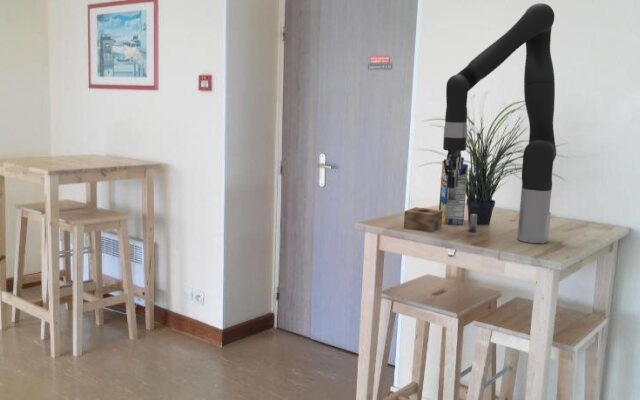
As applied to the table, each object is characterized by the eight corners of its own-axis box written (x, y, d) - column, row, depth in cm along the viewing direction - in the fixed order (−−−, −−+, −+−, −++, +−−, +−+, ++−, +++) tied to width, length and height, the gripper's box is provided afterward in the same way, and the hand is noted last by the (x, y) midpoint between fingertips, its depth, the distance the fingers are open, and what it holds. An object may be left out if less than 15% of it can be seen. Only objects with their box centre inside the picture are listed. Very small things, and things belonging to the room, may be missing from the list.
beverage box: (444, 224, 225) (448, 164, 221) (438, 218, 235) (442, 160, 232) (463, 225, 225) (468, 164, 221) (456, 219, 236) (460, 161, 232)
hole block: (441, 227, 219) (442, 210, 218) (430, 232, 211) (431, 214, 210) (415, 223, 225) (416, 207, 224) (403, 227, 216) (404, 211, 215)
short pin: (476, 231, 215) (478, 214, 214) (474, 232, 213) (476, 215, 212) (470, 230, 216) (471, 213, 215) (467, 231, 214) (469, 214, 213)
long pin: (456, 199, 210) (458, 167, 208) (453, 200, 208) (455, 167, 206) (449, 198, 211) (451, 166, 209) (447, 199, 209) (448, 167, 207)
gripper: (459, 137, 198) (456, 190, 201) (472, 135, 210) (469, 186, 213) (436, 136, 202) (434, 188, 205) (451, 134, 214) (449, 184, 217)
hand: (452, 187), depth 209 cm, fingers closed on long pin, 2 cm apart
